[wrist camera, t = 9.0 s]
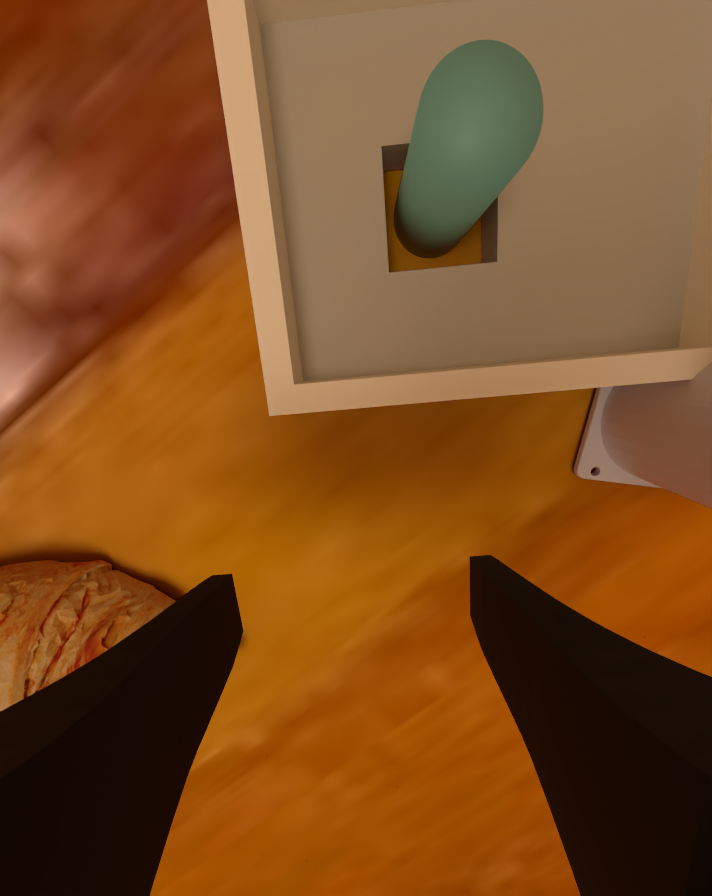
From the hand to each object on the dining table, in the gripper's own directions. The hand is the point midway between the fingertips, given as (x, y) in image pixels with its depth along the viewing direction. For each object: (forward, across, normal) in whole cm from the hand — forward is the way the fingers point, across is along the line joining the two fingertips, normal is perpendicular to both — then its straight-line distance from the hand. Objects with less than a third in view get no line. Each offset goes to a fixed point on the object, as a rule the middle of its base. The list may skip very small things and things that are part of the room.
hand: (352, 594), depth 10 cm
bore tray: (+10, -7, -13) cm, 18 cm away
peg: (+10, -5, -13) cm, 17 cm away
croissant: (+10, +19, +8) cm, 23 cm away
